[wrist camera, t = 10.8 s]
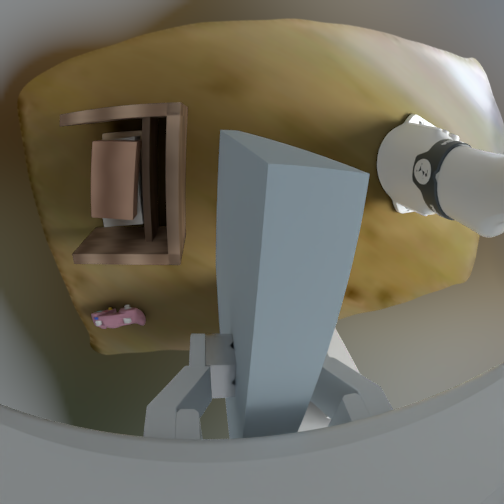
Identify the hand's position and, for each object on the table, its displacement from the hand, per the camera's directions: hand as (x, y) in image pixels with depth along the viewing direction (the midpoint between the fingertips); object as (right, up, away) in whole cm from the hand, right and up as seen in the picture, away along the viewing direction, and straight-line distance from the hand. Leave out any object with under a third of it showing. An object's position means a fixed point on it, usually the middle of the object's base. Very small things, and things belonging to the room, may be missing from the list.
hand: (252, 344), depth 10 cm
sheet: (-3, +9, +18) cm, 20 cm away
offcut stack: (-18, +15, +29) cm, 38 cm away
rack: (-17, +15, +29) cm, 37 cm away
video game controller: (-25, -8, +39) cm, 47 cm away
